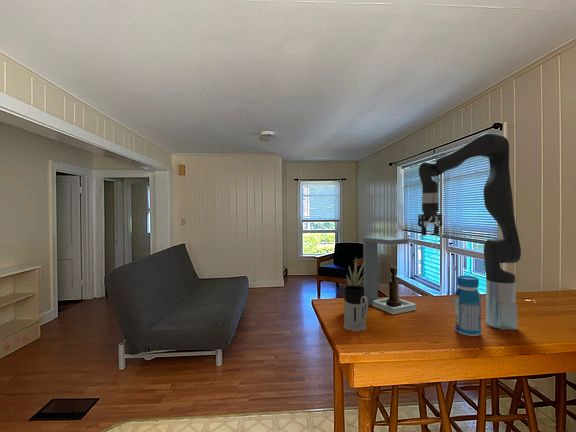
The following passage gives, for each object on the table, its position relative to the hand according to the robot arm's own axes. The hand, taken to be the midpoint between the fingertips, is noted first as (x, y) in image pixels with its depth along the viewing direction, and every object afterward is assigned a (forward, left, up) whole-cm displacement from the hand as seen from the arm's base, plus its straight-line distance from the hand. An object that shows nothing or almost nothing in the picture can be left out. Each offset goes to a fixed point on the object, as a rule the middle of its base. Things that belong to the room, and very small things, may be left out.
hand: (430, 235), depth 154 cm
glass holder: (-38, +45, -32) cm, 67 cm away
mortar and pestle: (-13, +23, -31) cm, 41 cm away
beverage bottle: (-42, +6, -32) cm, 53 cm away
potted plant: (-20, +42, -32) cm, 57 cm away
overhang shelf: (-12, +25, -32) cm, 42 cm away
